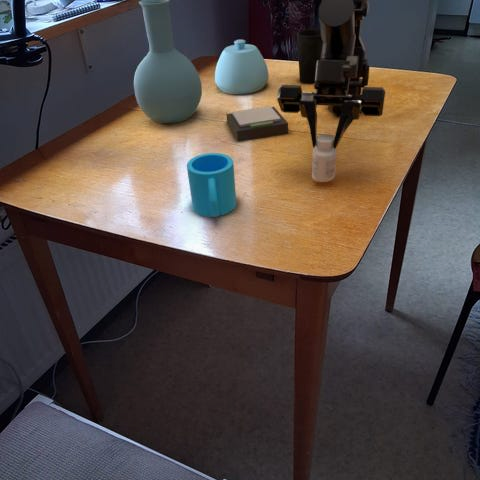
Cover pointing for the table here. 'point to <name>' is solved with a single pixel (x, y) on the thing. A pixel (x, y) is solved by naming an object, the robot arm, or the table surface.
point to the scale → (256, 123)
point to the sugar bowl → (241, 69)
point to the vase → (165, 71)
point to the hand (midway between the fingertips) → (324, 147)
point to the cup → (308, 53)
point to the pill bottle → (324, 158)
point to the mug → (212, 184)
